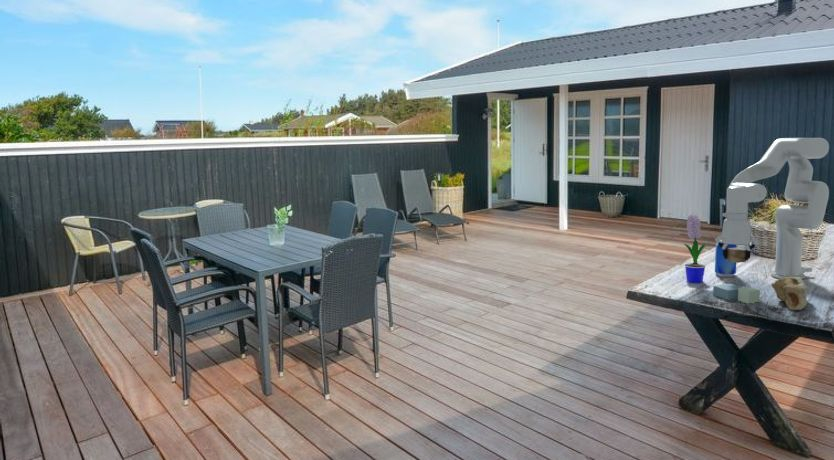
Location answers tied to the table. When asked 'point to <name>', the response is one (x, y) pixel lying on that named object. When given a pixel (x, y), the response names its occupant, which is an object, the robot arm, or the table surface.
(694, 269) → the hyacinth
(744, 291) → the sage cube
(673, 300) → the table surface
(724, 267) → the beer can
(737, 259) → the walnut cube
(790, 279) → the stone
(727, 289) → the base block
